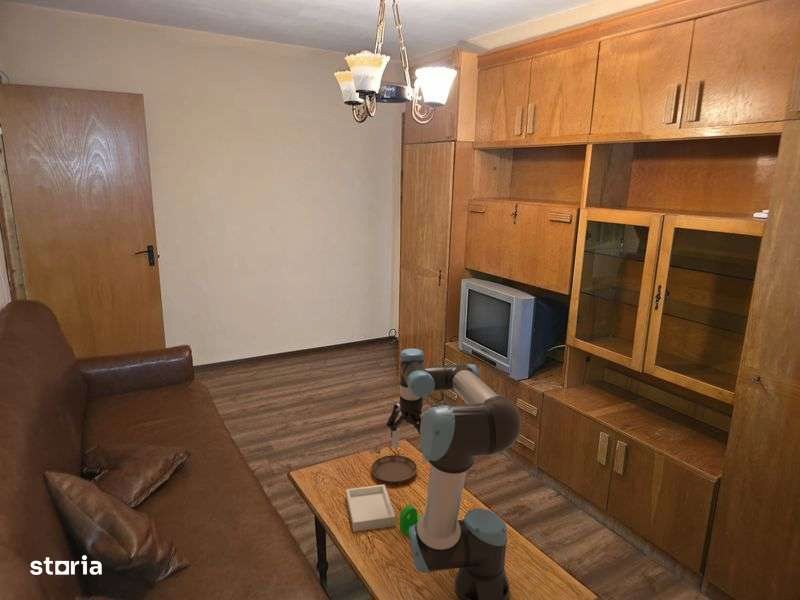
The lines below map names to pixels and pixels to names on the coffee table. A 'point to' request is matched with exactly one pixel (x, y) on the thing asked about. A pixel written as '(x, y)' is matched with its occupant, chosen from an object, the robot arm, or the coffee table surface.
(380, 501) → the tray
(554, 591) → the coffee table surface
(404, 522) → the mechanical part
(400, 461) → the plant saucer
